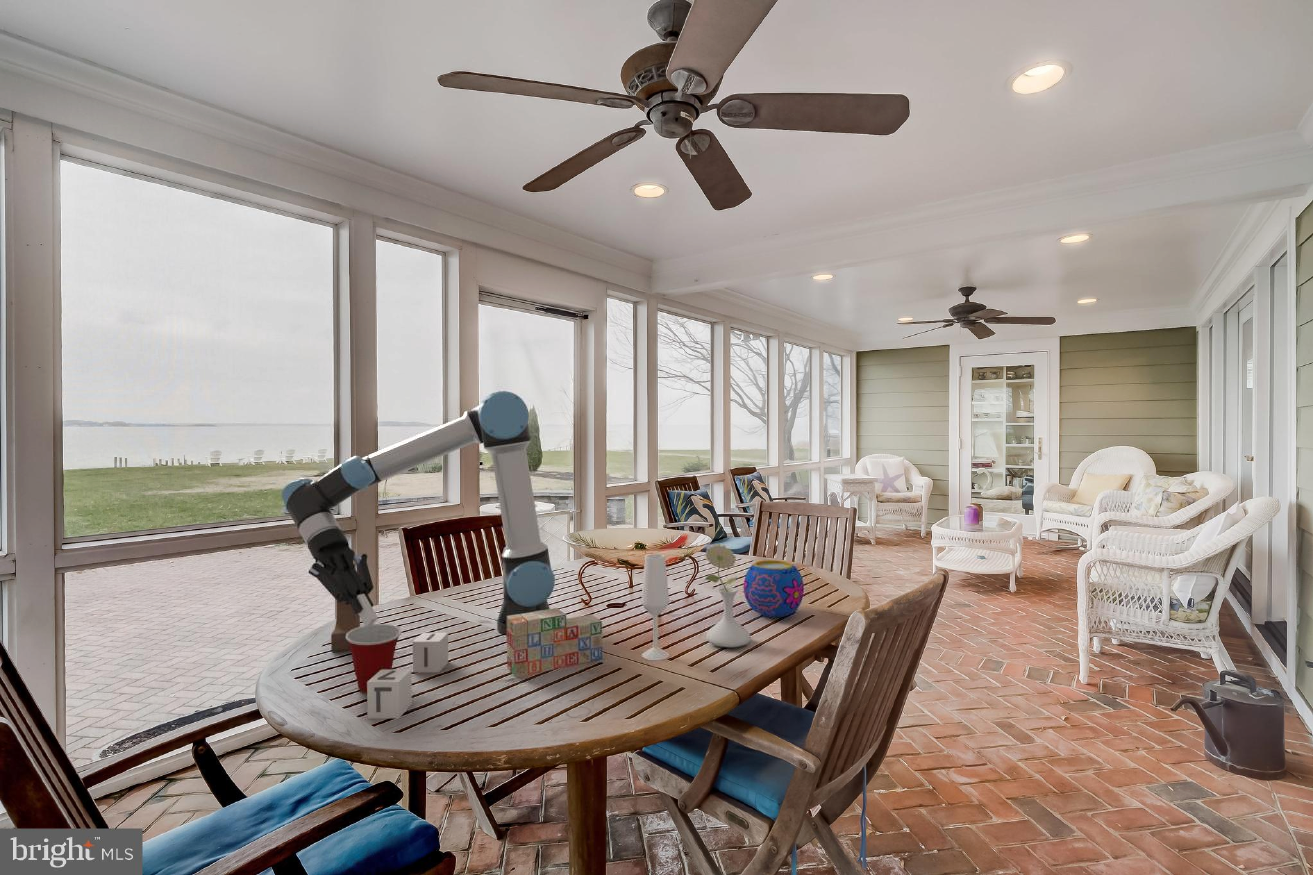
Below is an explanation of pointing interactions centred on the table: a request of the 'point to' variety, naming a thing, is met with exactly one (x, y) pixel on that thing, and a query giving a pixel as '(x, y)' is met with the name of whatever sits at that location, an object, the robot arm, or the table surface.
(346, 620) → the wooden block
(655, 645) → the champagne flute
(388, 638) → the plastic cup
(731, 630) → the flower in vase
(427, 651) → the marked block 1
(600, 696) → the table surface
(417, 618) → the table surface
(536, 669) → the stack of blocks
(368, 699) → the marked block 7
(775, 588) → the ceramic pot
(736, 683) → the table surface
